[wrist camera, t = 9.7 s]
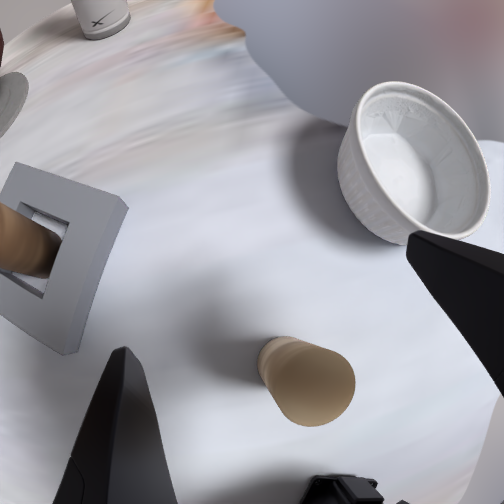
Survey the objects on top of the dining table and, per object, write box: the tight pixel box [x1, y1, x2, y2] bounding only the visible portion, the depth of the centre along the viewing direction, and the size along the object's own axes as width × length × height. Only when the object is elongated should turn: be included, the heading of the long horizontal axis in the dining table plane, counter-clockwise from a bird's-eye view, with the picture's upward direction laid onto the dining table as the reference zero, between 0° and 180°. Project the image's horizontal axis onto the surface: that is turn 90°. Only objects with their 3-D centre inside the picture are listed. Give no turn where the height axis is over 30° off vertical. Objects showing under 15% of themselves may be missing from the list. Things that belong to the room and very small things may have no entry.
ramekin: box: [337, 82, 491, 245], centre depth 21 cm, size 13×13×7 cm
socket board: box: [0, 162, 129, 355], centre depth 19 cm, size 12×12×2 cm
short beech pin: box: [257, 336, 355, 427], centre depth 17 cm, size 4×4×8 cm
